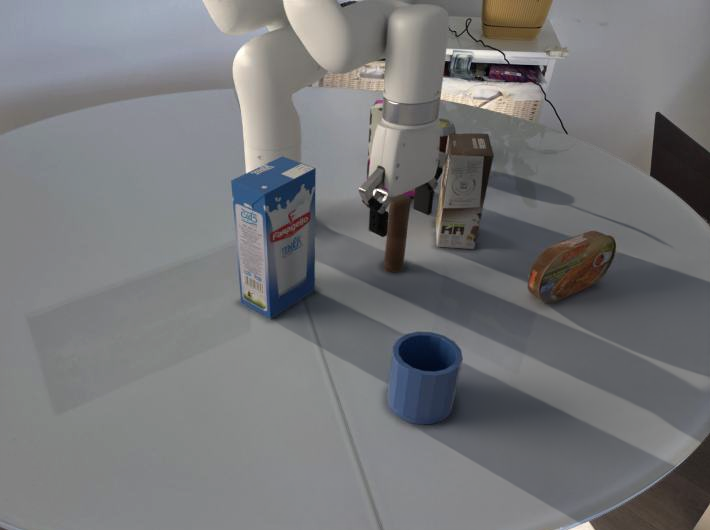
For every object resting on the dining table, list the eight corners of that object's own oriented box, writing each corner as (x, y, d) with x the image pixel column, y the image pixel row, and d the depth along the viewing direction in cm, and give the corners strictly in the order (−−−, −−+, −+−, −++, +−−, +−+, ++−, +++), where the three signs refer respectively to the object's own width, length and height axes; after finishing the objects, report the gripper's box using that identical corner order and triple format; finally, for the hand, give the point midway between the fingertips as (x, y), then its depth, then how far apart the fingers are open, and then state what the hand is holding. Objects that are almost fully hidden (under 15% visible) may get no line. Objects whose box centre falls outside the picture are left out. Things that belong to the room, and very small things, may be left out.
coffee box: (476, 249, 105) (494, 156, 94) (435, 247, 106) (449, 154, 96) (472, 222, 111) (489, 132, 101) (434, 220, 113) (448, 131, 102)
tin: (534, 311, 91) (548, 261, 86) (518, 300, 94) (530, 250, 88) (608, 279, 96) (626, 230, 91) (590, 270, 98) (607, 221, 93)
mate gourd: (456, 157, 132) (468, 83, 123) (443, 172, 127) (454, 96, 118) (421, 151, 136) (430, 78, 126) (407, 165, 131) (415, 91, 121)
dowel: (380, 266, 102) (386, 198, 95) (393, 260, 104) (400, 192, 96) (394, 274, 100) (401, 205, 93) (407, 267, 102) (415, 198, 94)
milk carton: (285, 275, 102) (282, 156, 89) (314, 290, 98) (316, 167, 86) (240, 303, 97) (230, 180, 84) (269, 319, 93) (263, 194, 80)
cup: (374, 399, 80) (378, 350, 74) (416, 371, 83) (423, 323, 78) (422, 434, 75) (430, 385, 70) (465, 404, 78) (476, 354, 73)
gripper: (431, 87, 92) (419, 196, 103) (344, 119, 85) (341, 233, 95) (474, 98, 87) (457, 211, 98) (386, 133, 80) (378, 252, 91)
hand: (400, 222), depth 97 cm, fingers open, 9 cm apart
